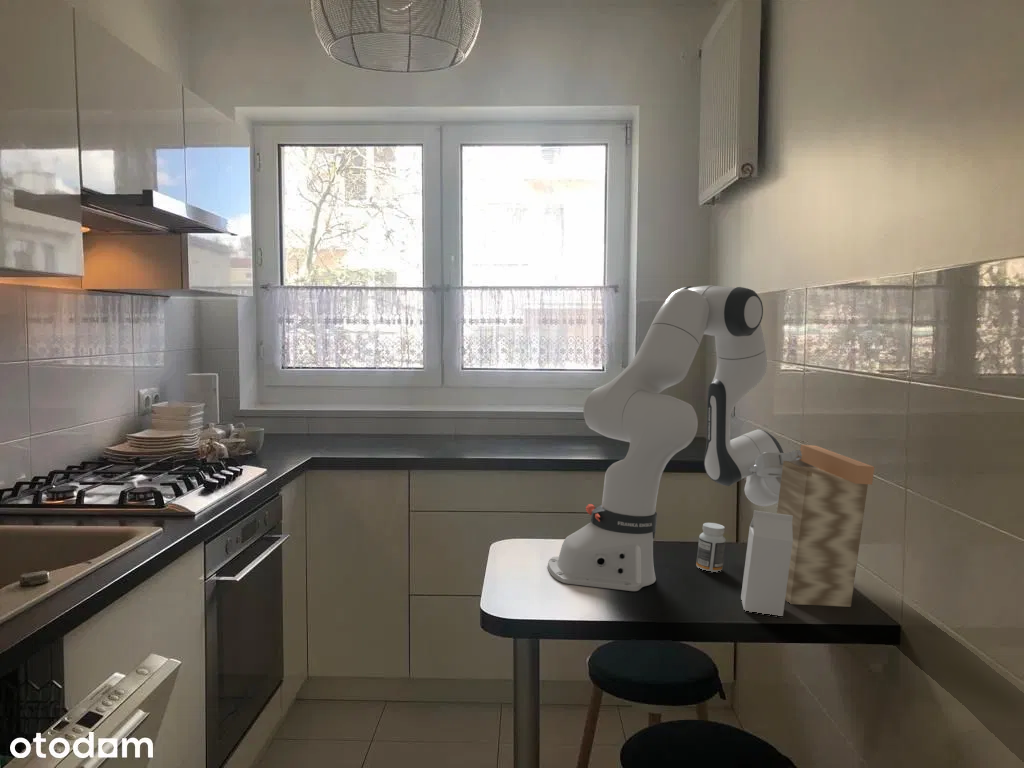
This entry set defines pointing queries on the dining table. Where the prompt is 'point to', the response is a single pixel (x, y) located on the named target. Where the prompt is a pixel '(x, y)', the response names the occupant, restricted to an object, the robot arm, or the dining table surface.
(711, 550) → the pill bottle
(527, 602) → the dining table surface
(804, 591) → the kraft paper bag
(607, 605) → the dining table surface
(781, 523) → the milk carton
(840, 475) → the bar
